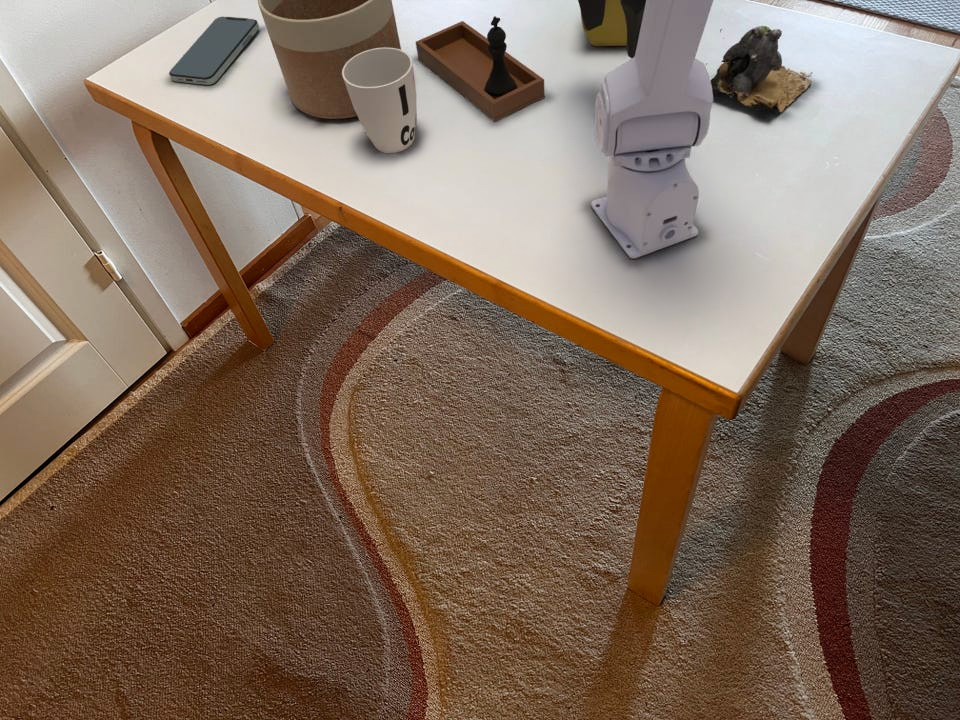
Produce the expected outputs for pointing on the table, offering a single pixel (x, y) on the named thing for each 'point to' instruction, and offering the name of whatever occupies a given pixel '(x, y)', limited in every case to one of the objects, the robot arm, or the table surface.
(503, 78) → the chess piece
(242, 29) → the smartphone
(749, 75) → the figurine
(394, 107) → the cup
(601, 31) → the flower pot
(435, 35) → the brown rectangular tray
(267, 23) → the planter
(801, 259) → the table surface
